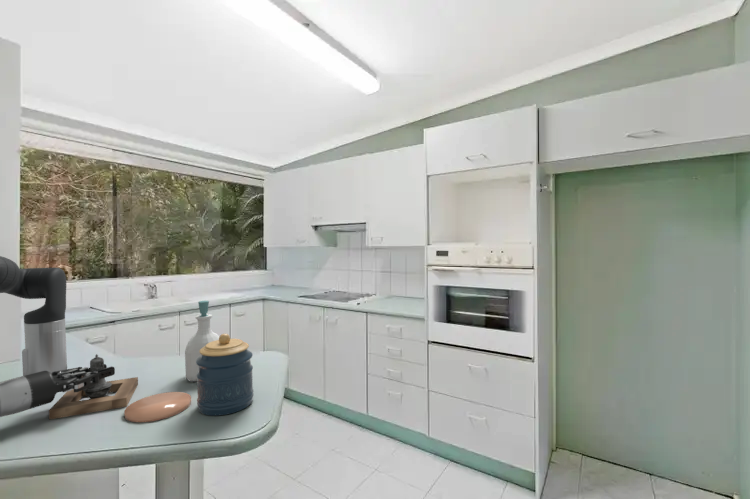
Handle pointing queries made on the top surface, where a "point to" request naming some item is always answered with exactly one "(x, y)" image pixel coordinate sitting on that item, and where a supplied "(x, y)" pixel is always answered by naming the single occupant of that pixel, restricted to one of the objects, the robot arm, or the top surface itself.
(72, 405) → the wooden square frame
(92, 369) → the salt shaker
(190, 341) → the soap bottle
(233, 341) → the canister
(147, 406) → the saucer
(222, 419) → the top surface
